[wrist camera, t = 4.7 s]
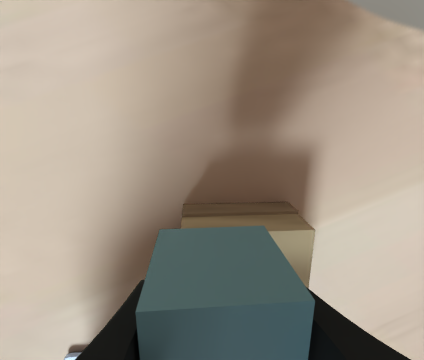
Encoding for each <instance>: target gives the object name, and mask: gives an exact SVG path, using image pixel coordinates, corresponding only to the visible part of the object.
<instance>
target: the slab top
mask: <svg viewBox="0 0 424 360" xmlns="http://www.w3.org/2000/svg"><path fill="white" fill-rule="evenodd" d="M239 226H265V228H266V229H267V231H268V232H269V234H270V235H271V237H272V238H273V240H274V241H275V242H276V244H277V245H278V247H279V248H280V250H281V251H282V253H283V254H284V256H285V257H286V259H287V260H288V262H289V263H290V265H291V266H292V267H293V269H294V270H295V272H296V273H297V275H298V276H299V278H300V279H301V281H302V282H303V284H304V285H305V286H306V287H307V288H308V287H309V279H310V270H311V261H312V253H313V244H314V235H315V229H314V228H313V227H311V226H310V225H309V224H308V223H307V222H306V221H305V220H304V219H303V218H301V217H300V216H299V215H298V214H277V215H242V216H207V217H182V220H181V229H186V228H212V227H239Z"/></svg>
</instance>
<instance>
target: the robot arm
mask: <svg viewBox="0 0 424 360" xmlns="http://www.w3.org/2000/svg"><path fill="white" fill-rule="evenodd" d="M144 281H145V280H141V281H140V282H139V284H138V285H137V286H136V288H135V289H134V290H133V292H132V293H131V294H130V296H129V297H128V298H127V300H126V301H125V302H124V304H123V305H122V306H121V308H120V309H119V310H118V311H117V312H116V314H115V315H114V316H113V317H112V319H111V320H110V321H109V322H108V323H107V325H106V326H105V327H104V328H103V329H102V330H101V332H100V333H99V334H98V335H97V336H96V337H95V338H94V339H93V341H92V342H91V343H90V344H89V345H88V346H87V347H86V348H85V349H84V350H83V351H82V352H78V353H69V354H67V355H66V357H65V358H64V360H140V354H139V344H138V333H137V323H136V313H135V312H136V309H137V305H138V302H139V298H140V295H141V291H142V288H143V285H144ZM305 287H306V286H305ZM306 288H307V287H306ZM307 290H308V291H309V292H310V294H311V295H312V297H313V298H314V300H315V306H314V314H313V322H312V330H311V338H310V347H309V355H308V360H411V359H409V358H407V357H405V356H404V355H402V354H400V353H399V352H397V351H395V350H394V349H392V348H391V347H389V346H387V345H386V344H384V343H383V342H381V341H379V340H378V339H376V338H375V337H373V336H372V335H370V334H369V333H367V332H366V331H364V330H363V329H361V328H360V327H358V326H357V325H356V324H354V323H353V322H351V321H350V320H348V319H347V318H346V317H344V316H343V315H342V314H340V313H339V312H338V311H336V310H335V309H334V308H332V307H331V306H330V305H328V304H327V303H326V302H324V301H323V300H322V299H321V298H319V297H318V296H317V295H316V294H314V293H313V292H312V291H311V290H309V289H308V288H307Z"/></svg>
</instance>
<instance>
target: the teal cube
mask: <svg viewBox="0 0 424 360" xmlns="http://www.w3.org/2000/svg"><path fill="white" fill-rule="evenodd" d="M314 306H315V300H314V298H313V297H312V295H311V294H310V292H309V291H308V290H307V288H306V287H305V285H304V284H303V282H302V281H301V279H300V278H299V276H298V275H297V273H296V272H295V270H294V269H293V267H292V266H291V265H290V263H289V262H288V260H287V259H286V257H285V256H284V254H283V253H282V251H281V250H280V248H279V247H278V245H277V244H276V242H275V241H274V240H273V238H272V237H271V235H270V234H269V232H268V231H267V229H266V228H265V226H239V227H212V228H186V229H160V230H159V234H158V237H157V240H156V244H155V247H154V251H153V254H152V257H151V261H150V264H149V268H148V271H147V274H146V278H145V281H144V285H143V288H142V291H141V295H140V298H139V302H138V305H137V309H136V312H135V313H136V323H137V333H138V344H139V354H140V360H308V355H309V347H310V338H311V330H312V322H313V314H314Z"/></svg>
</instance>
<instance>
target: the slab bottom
mask: <svg viewBox="0 0 424 360" xmlns="http://www.w3.org/2000/svg"><path fill="white" fill-rule="evenodd" d="M277 214H298V210H296V209H295V208H294V207H293V206H292V205H291V204H290V203H288V202H261V203H216V204H183V211H182V217H207V216H242V215H277Z"/></svg>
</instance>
